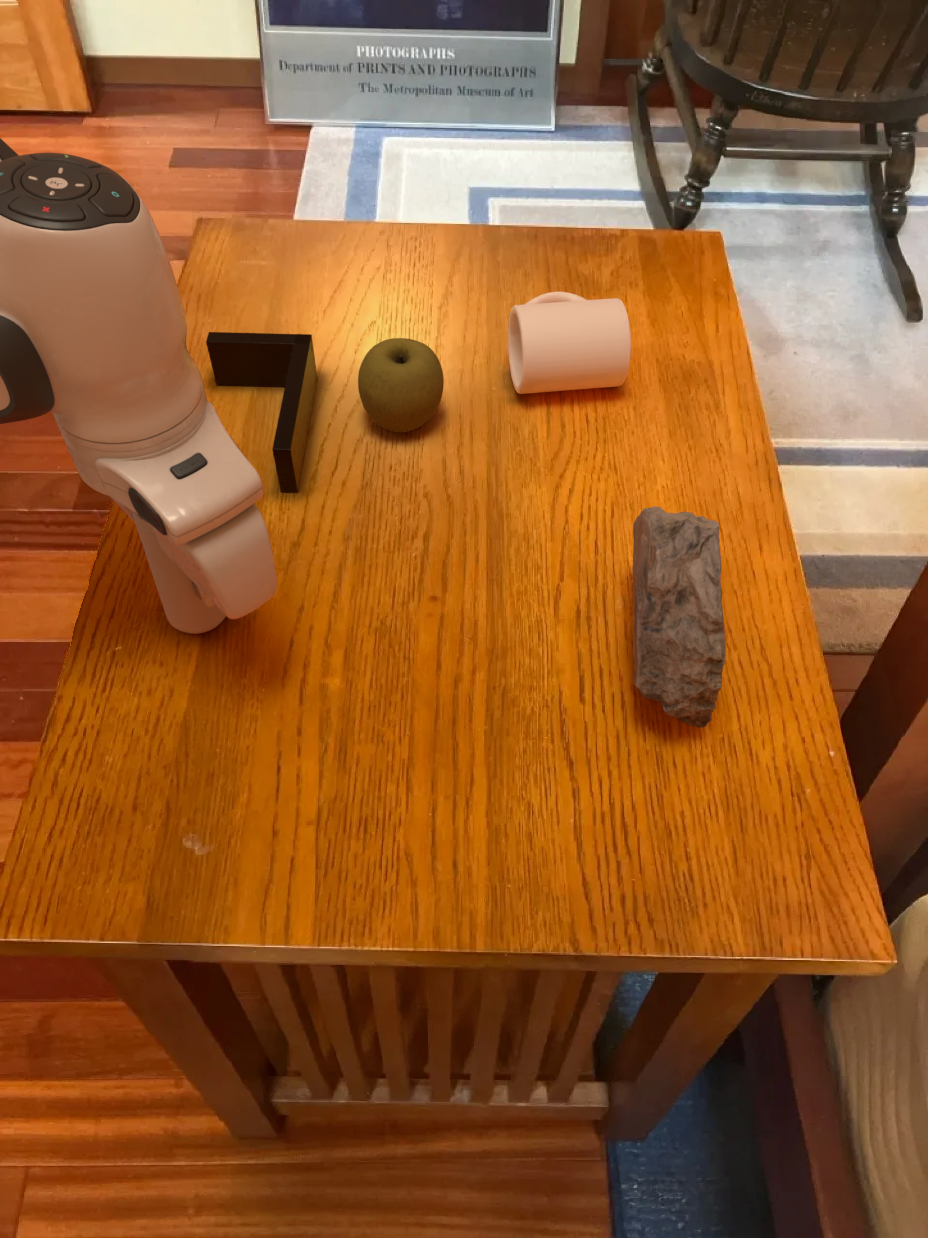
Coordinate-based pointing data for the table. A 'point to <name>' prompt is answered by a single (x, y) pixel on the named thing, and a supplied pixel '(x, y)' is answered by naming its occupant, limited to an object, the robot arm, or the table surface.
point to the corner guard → (273, 366)
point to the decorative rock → (678, 613)
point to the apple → (400, 384)
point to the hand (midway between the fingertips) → (189, 573)
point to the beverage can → (176, 587)
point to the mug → (568, 343)
